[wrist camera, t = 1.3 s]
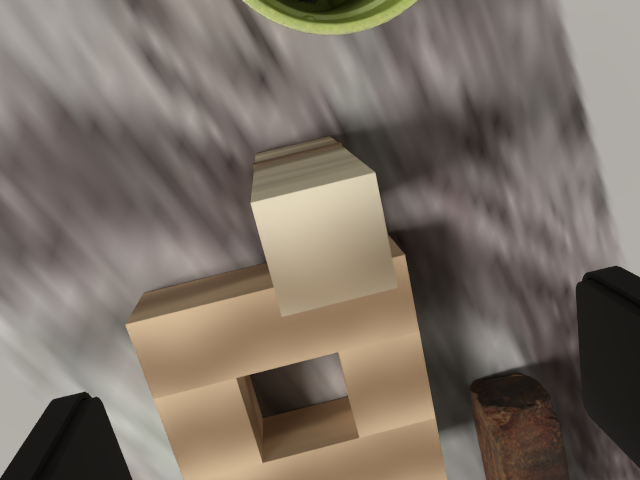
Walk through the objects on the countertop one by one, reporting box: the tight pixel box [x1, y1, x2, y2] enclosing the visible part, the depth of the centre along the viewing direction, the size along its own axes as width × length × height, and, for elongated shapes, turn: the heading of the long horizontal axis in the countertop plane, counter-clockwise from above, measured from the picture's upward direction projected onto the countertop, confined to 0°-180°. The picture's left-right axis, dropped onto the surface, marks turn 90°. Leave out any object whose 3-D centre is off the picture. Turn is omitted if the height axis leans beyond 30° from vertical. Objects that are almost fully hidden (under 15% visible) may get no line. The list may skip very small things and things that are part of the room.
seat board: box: [126, 234, 447, 480], centre depth 30 cm, size 14×14×4 cm
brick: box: [470, 373, 569, 480], centre depth 33 cm, size 11×4×5 cm, turn 15°
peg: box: [251, 136, 398, 317], centre depth 23 cm, size 4×4×12 cm
